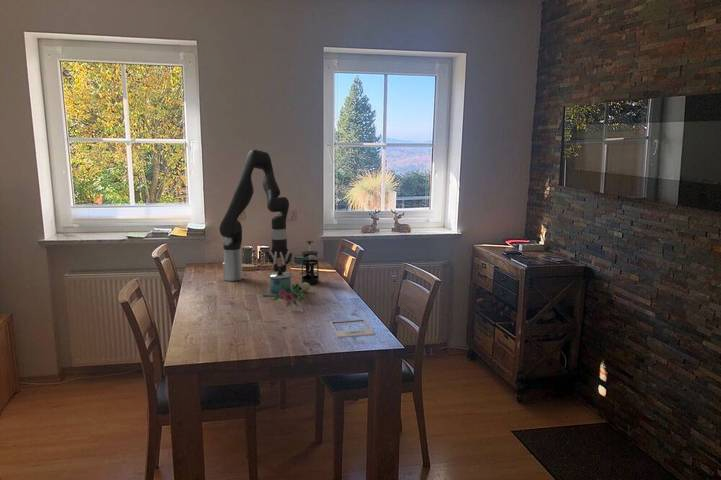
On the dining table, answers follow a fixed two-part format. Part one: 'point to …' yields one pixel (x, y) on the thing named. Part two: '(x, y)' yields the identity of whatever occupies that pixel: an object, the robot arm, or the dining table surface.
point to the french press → (309, 278)
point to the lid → (279, 274)
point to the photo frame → (354, 332)
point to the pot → (278, 287)
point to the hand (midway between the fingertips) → (280, 271)
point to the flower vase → (296, 289)
